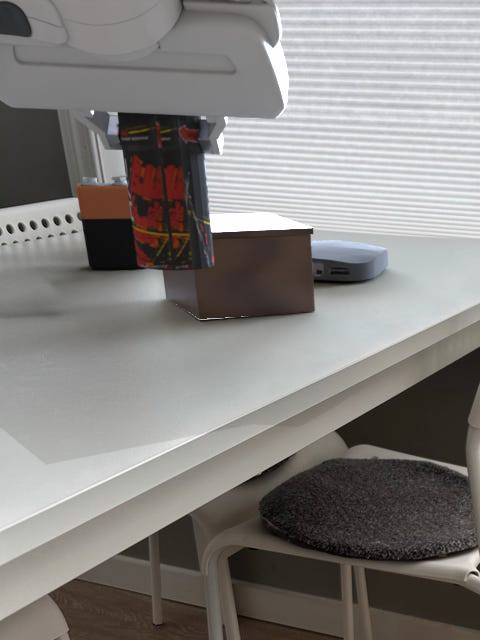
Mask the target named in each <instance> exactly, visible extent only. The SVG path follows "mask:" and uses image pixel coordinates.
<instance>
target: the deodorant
mask: <svg viewBox="0 0 480 640" xmlns="http://www.w3.org/2000/svg"><path fill="white" fill-rule="evenodd" d="M116 115H118V121H119V129H120V136H121V144H122V150H121V151H122V157H123V166H124V172H125V176H126V182H127V189H128V196H129V204H130V211H131V219H132V226H133V234H134V241H135V249H136V256H137V264H138V266H140V267H143V268H142V269H149V270H157V271H163V270H196V269H204V268H209V267H212V266H214V265H215V261H214V251H213V240H212V230H211V219H210V215H211V209H210V201H209V200H210V199H209V190H208V189H209V187H208V178H207V177H208V176H207V166H206V157H205V154H203V153H202V151H201V146H199V143H198V140H197V136H198V131H199V130H200V129H199V123H200V119H202V116H189V115H167V114H145V113H124V112H116Z"/></svg>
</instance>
